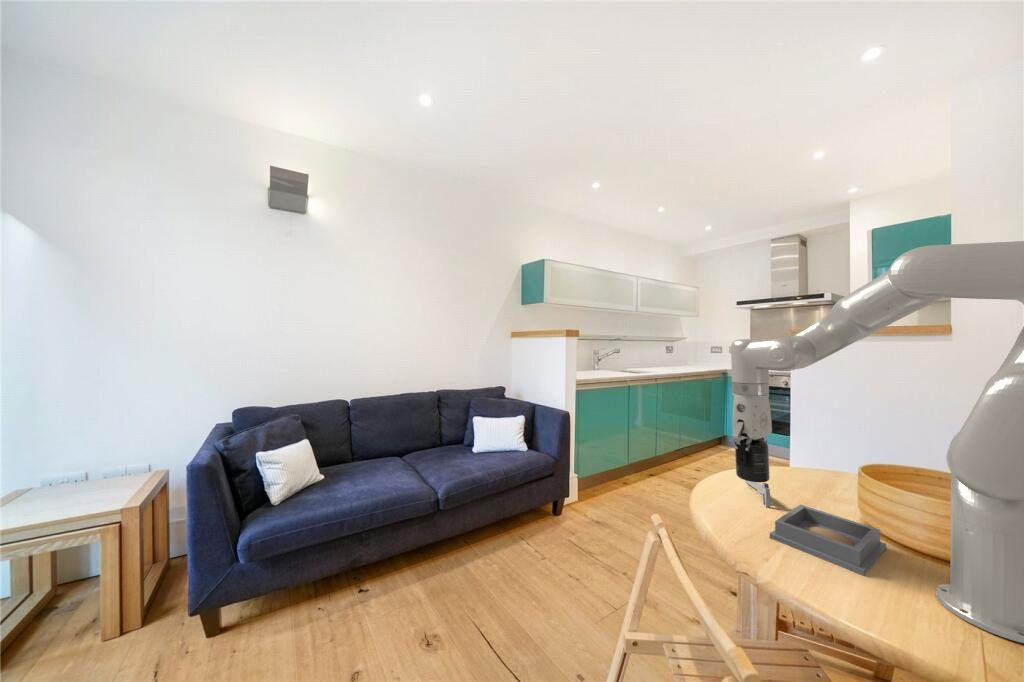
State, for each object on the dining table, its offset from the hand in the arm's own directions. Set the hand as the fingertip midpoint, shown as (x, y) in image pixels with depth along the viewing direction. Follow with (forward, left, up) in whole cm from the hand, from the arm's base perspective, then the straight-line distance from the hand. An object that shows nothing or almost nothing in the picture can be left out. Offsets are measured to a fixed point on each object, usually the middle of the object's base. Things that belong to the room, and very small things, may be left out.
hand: (751, 462), depth 88 cm
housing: (-13, -6, -16) cm, 21 cm away
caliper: (+9, -22, -16) cm, 29 cm away
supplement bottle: (0, 0, -4) cm, 4 cm away
